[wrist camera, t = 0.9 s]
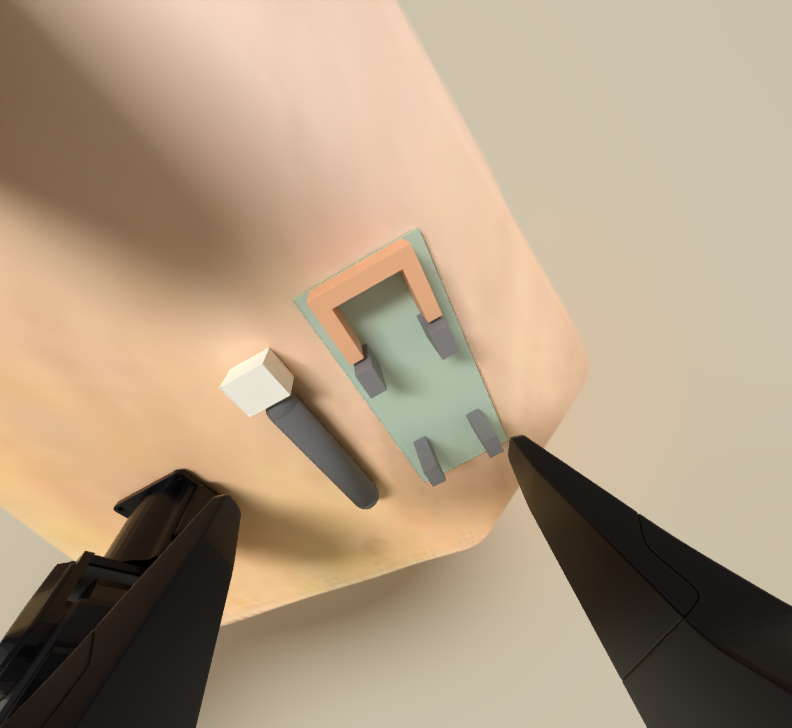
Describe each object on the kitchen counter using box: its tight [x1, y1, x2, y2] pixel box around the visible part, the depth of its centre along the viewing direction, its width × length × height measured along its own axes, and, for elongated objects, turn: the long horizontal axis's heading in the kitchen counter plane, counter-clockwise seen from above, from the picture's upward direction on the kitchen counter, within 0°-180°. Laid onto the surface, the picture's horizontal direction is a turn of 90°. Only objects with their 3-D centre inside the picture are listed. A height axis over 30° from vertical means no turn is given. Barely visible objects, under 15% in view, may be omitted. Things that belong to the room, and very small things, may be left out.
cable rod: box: [220, 348, 379, 509], centre depth 24 cm, size 3×17×2 cm, turn 27°
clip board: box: [293, 228, 508, 487], centre depth 23 cm, size 9×21×4 cm, turn 27°
